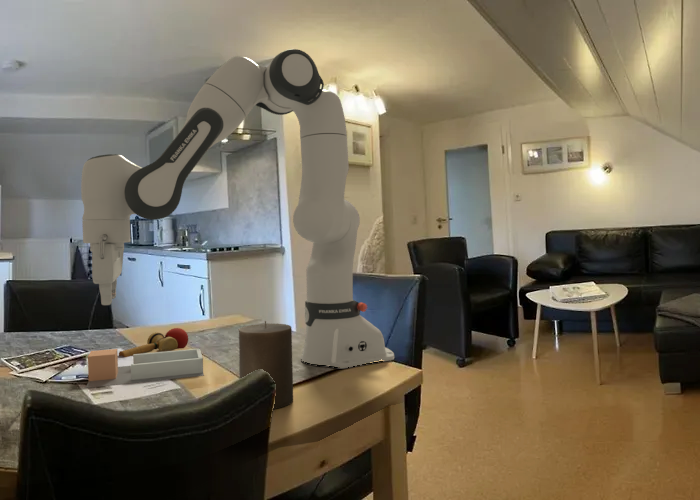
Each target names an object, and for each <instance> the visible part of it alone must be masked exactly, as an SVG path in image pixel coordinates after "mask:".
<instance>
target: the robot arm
mask: <svg viewBox="0 0 700 500" xmlns="http://www.w3.org/2000/svg"><path fill="white" fill-rule="evenodd" d="M324 87H325V86H324V81H323V78H322V77H321V75H320V73H319V71H318V68H317V65H316V63H315V61H314V59H312V57H311V56H310V55H309V54H308V53H306V51H303V50H302V49H301V50H300V49H296V48H291V49H290V48H289V49H285V50H284V51H282V52H280V53H278V54H277V55H275V57H274V58H273V59H272V61H270V63H269V64H268V65H267V66H261V65H258V64H257V63H256V62H255V61H253V60H252V59H250V58H248V57H245V56H242V55H237V56H236V55H235V56H233V57H231V58H229V59H228V60H227V61H225V63H223V64H222V65H220V67H218V68H217V69H216V70H215V71H214V73H212V74H211V76H210V77H208V79H207V80H206V81H205V82H204V84H203V85H202V86H201V88H200V89H199V90H198V92H197V93H196V95H195V96H194V98H193V99H192V102H191V104H190V106H189V107H188V110H187V115H186V119H185V122H184V124H183V127H182V128H181V130H180V131H179V132H178V133H177V135H176V136H175V137H174V138H173V140H172V141H171V143H170V144H169V145H168V146H167V147H166V149H165V150H163V153H162V154H160V156H159V157H158V158H157V159H156V160H155V161H153V162H152V163H150V164H148V165H146V166H144V167H142V166H139V165H138V164H136V163H135V162H132V161H130V160H129V159H127V158H126V157H124V156H123V155H121V154H117V153H115V154H101V155H96V156H92V157H90V158H89V159H87V160H86V161H85V162H84V164H83V167H82V171H81V180H80V181H81V187H80V188H81V192H80V193H81V201H82V203H83V214H82V218H81V219H82V220H81V221H82V243H84V244H89V247H90V249H89V251H90V252H91V253H92V254H91V256H92V259H91V261H92V262H91V263H92V264H91V266H92V267H91V268H92V269H91V270H92V271H91V273H92V276H91V277H92V282H93V284H94V285H98V288H99V292H100V293H99V294H100V302H101V303H100V304H101V305H102V306H110V305H111V304H112V302H113V300H114V299H115V298H116V296H117V285H118V284H117V283H118V278H119V276H120V275H121V274H122V270H123V262H124V250H125V243H131V219H130V218H131V217H132V215H137V216H138V217H140V218H142V219H146V220H152V221H154V220H155V221H156V220H157V221H158V220H161V219H164V218H166V217H168V216H170V215H171V214H172V213H173V212H175V211H176V209H177V208H178V206H179V204H180V201H181V197H182V193H183V187H184V184H185V181H186V180H187V178H188V177H189V175H190V174H191V173H192V171H193V170H194V168H195V167H196V166H197V165H198V163H199V162H200V161H201V159H202V158H203V157H204V155H205V154H206V153H207V151H208V150H210V149H211V148H212V147H213V146H214V145H216V144H217V143H219V142H222V141H224V140H225V139H227V137H229V136H230V135H231V134H233V132H235V130H237V128H238V127H239V126H240V125H241V124H242V123H243V121H244V120H245V118H247V116H248V115H249V114H250V112H251V111H252V110H253V109H254V107H255V106H256V107H258V108H261V109H263V110H265V111H266V112H268V113H271V114H273V115H279V116H282V115H283V116H284V115H288V114H290V113H292V112H293V113H294V115H295V116H296V118H297V121H298V125H299V138H300V140H299V141H300V153H301V180H300V181H301V182H300V189H299V195H298V196H299V197H298V202H297V206H296V207H295V210H294V212H293V215H292V216H293V217H292V223H293V226H294V229H295V231H296V232H297V234H298V235H299V236H300V237H302V238H303V239H304V240H307V241H308V242H310V243H312V249H311V254H310V259H309V261H308V263H307V266H306V271H305V272H306V300H305V301H304V302H305V303H304V323H305V325H306V326H305V337H304V345H303V350H302V352H301V353H302V354H301V357H300V360H301V359H302V360H303V361H305V362H308V363H312V364H320V365H330V366H335V367H340V368H339V369H348V367H349V368H354V367H353V366H355V367H358V366H357V365H360V366H363V365H362V364H365V363H370V362H374V361H379V360H381V359H382V360H385V361H384V362H388V361H393V360H394V359H395V353H394V352H393V351H392V350H391V349H389V347H386V346H385V339H384V335H383V333H382V331H381V330H380V329H379V328H378V327H376V326H375V325H374V324H373V323H371V322H370V321H369V320H367V319H366V318H365V317H364V316H362V315H361V312H363V313H364V312H366V311H367V309H368V305H367V304H366V303H365V302H362V301H361V302H358V301H357V300H355V299H354V298H353V297H354V295H353V293H354V289H353V288H354V287H353V285H354V283H353V281H354V280H353V279H354V277H353V276H354V274H353V273H354V272H353V271H354V270H353V269H354V258H355V253H356V245H357V238H358V229H359V227H360V220H361V219H360V214H359V211H358V210H357V209H356V207H355V206H354V205H353V204H352V202H350V201H349V200H347V199H345V191H346V190H345V189H346V182H347V176H348V173H349V170H350V165H349V150H348V134H347V133H348V132H347V123H346V118H345V117H346V116H345V113H344V109H343V105H342V104H343V103H342V101H341V99H340V97H339V96H338V94H336V93H335V92H333V91H331V90H328V89H327V90H326V89H324ZM302 360H301V361H302ZM303 361H302V362H303ZM305 362H304V363H305Z"/></svg>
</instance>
